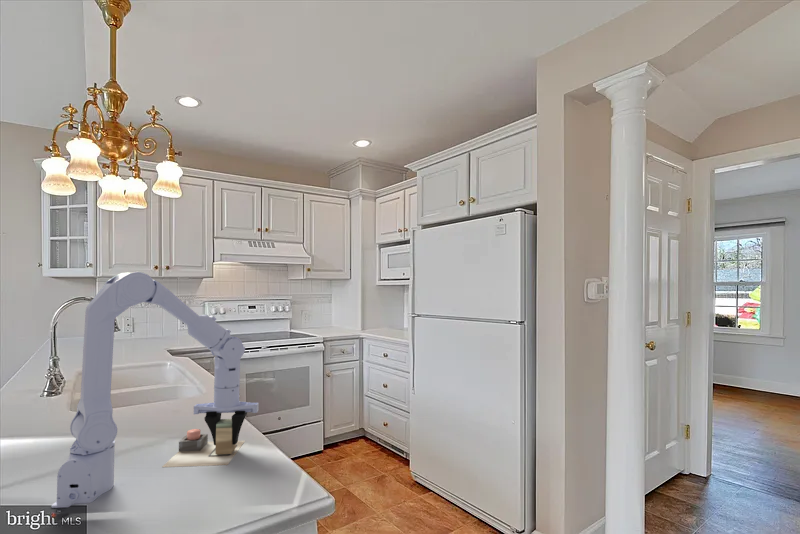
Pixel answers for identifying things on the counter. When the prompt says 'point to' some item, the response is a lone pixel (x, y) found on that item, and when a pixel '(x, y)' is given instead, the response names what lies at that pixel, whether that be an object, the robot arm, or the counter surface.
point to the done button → (193, 434)
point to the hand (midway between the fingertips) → (226, 443)
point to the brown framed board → (200, 453)
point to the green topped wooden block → (224, 437)
